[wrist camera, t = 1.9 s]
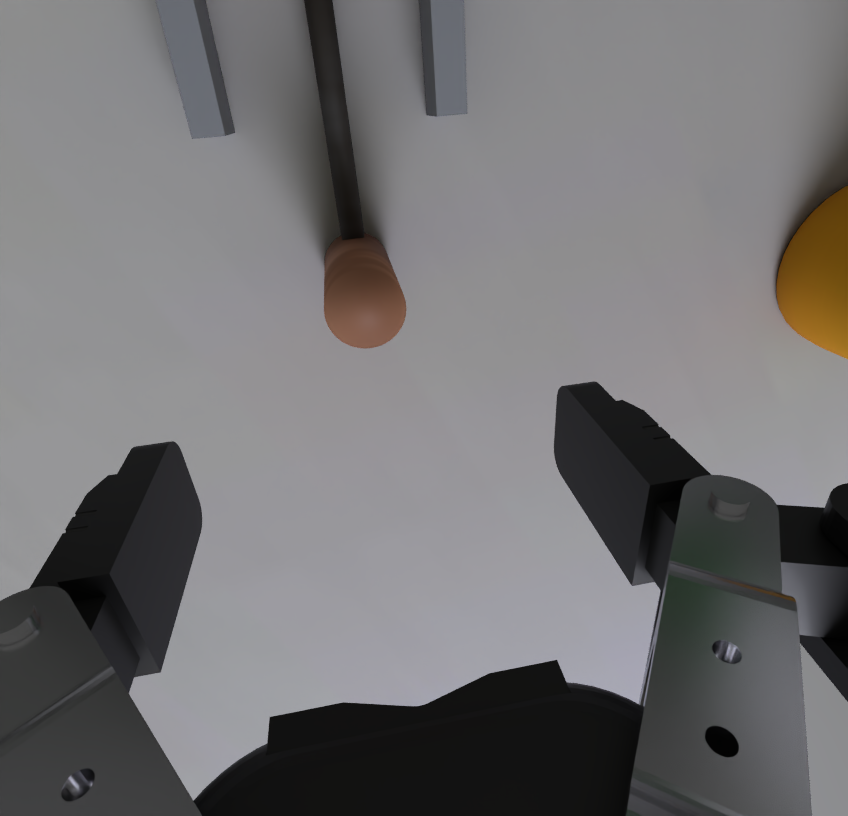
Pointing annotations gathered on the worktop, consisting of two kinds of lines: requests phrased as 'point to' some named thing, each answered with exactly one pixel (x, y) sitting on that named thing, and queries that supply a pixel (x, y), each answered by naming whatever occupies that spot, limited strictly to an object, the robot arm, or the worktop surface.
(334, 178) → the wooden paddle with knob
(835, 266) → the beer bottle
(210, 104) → the lane
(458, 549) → the worktop surface
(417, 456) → the worktop surface
